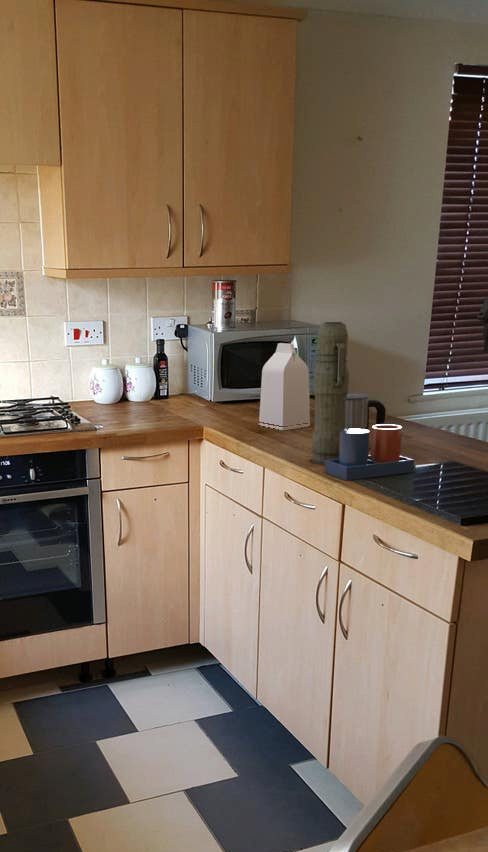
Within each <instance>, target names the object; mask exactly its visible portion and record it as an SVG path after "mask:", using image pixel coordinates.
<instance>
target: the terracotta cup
mask: <svg viewBox="0 0 488 852" xmlns="http://www.w3.org/2000/svg"><path fill="white" fill-rule="evenodd" d="M402 434H403V426H401V425H399V424H384V425H376V424H375V425H372V426H371V436H370V437H371V441H370V455H371V458H370V460H373V461H376V462H379V463H384V462H393V461H400V456H401V451H402Z"/></svg>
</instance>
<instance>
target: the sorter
mask: <svg viewBox="0 0 488 852" xmlns="http://www.w3.org/2000/svg"><path fill="white" fill-rule="evenodd" d="M370 458H371V454H368V465H359V466H351V467H347V466H344V465H341V464H339V459H333V460H325V464H324V473H325V474H328V475H330V476H334V477H336V478H339V479H341V480H343V481H352V480H353V481H354V480H362V479H368V478H377V477H384V476H393V475H401V474H409V473H414V469H415V459H413V458H409V457H407V456H402V455H400V461H393V462H384V463H379V462H376V461H373V460H370Z"/></svg>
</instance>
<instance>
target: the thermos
mask: <svg viewBox="0 0 488 852" xmlns="http://www.w3.org/2000/svg"><path fill="white" fill-rule="evenodd" d="M316 339H317V340H316V355H317V359H316V365H315V368H314V372H313V395H314V430H313V433H312V436H311V452H312V458H311V462H313V463H315V464H320V465H325V460H333V459H339V438H340V430H343V429H345V421H346V396H347V394H349V387H350V383H349V382H350V370H349V366H348V360H347V358H348V357H347V355H348V350H349V347H348V346H349V333H348V329H347V325H346V323H344V322H343V321H327V322H326V321H324V322H323V323H321V324H320V326H319V329H318V332H317V335H316Z"/></svg>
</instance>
